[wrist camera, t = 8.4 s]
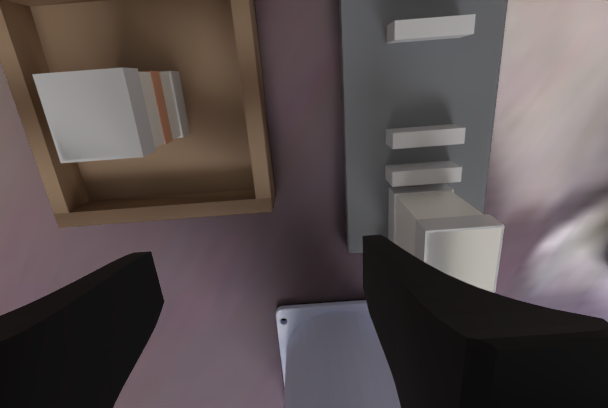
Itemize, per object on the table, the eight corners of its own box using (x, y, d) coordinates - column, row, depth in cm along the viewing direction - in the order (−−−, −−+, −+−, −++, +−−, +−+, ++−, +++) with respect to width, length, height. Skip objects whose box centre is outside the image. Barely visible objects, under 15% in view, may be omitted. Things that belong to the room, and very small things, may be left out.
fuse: (441, 234, 21) (495, 292, 15) (388, 237, 21) (421, 297, 15) (444, 183, 19) (504, 225, 14) (388, 187, 20) (425, 231, 14)
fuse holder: (471, 243, 22) (492, 262, 20) (346, 251, 22) (352, 272, 20) (513, -158, 15) (552, -201, 13) (333, -142, 15) (339, -183, 13)
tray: (275, 196, 21) (272, 211, 18) (85, 210, 21) (58, 227, 18) (251, -28, 17) (243, -45, 14) (17, -9, 17) (-29, -23, 14)
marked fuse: (190, 133, 19) (143, 157, 13) (132, 138, 19) (60, 163, 13) (178, 71, 18) (122, 67, 12) (117, 75, 18) (32, 74, 12)
